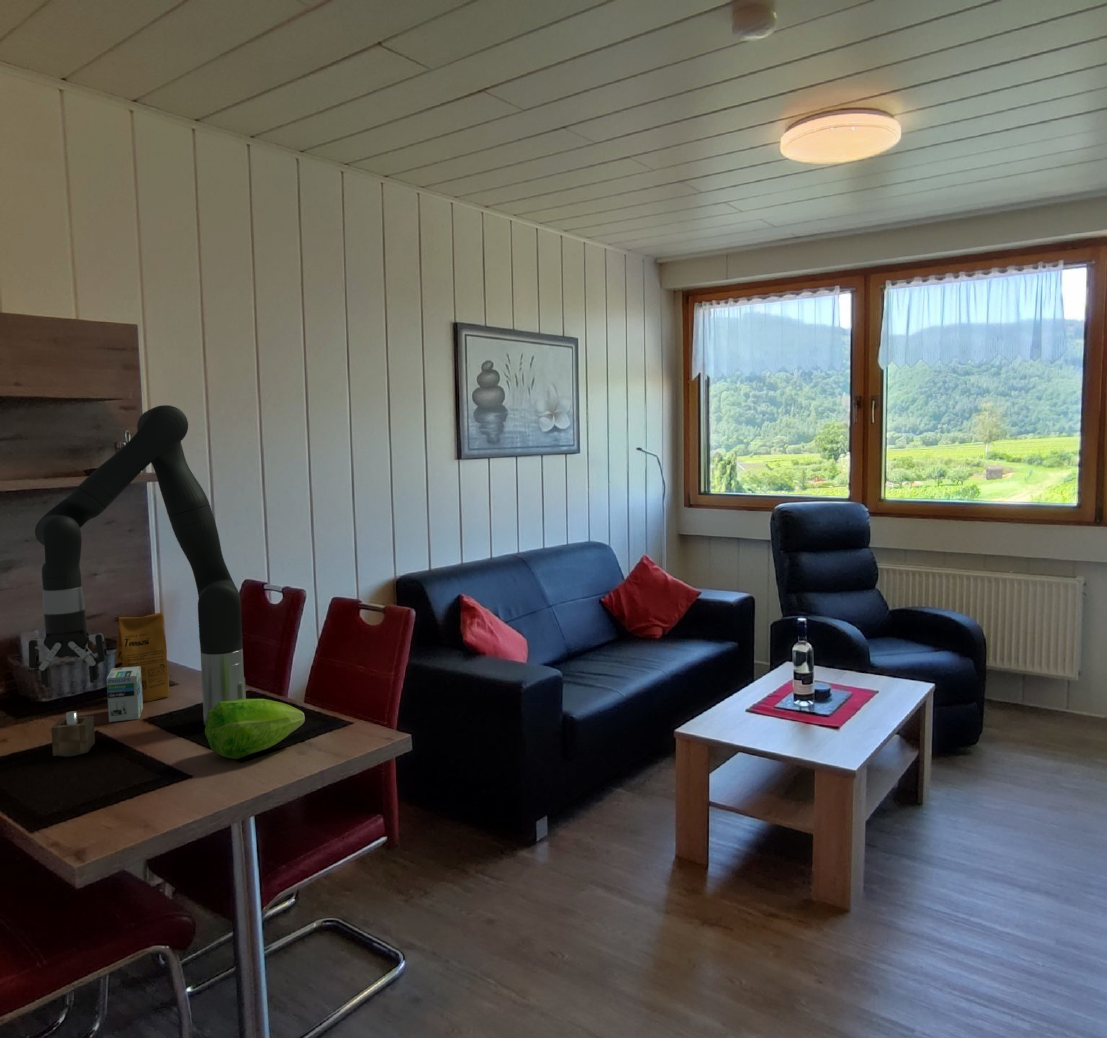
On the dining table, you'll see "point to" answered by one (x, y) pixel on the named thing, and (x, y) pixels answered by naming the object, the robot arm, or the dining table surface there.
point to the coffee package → (145, 653)
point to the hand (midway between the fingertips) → (70, 684)
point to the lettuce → (249, 725)
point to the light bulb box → (124, 693)
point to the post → (71, 719)
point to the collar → (73, 736)
